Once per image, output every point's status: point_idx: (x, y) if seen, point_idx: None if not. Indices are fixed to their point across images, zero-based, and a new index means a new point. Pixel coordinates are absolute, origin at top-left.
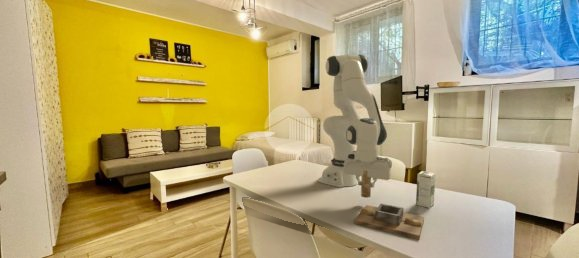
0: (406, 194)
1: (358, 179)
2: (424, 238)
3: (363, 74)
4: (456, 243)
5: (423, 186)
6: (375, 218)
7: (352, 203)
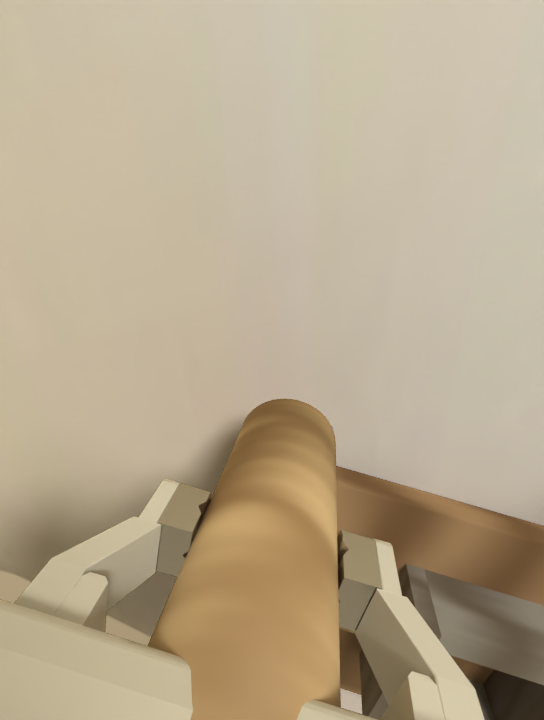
0: None
1: (122, 592)
2: None
3: None
4: None
5: None
6: (360, 665)
7: (193, 390)
